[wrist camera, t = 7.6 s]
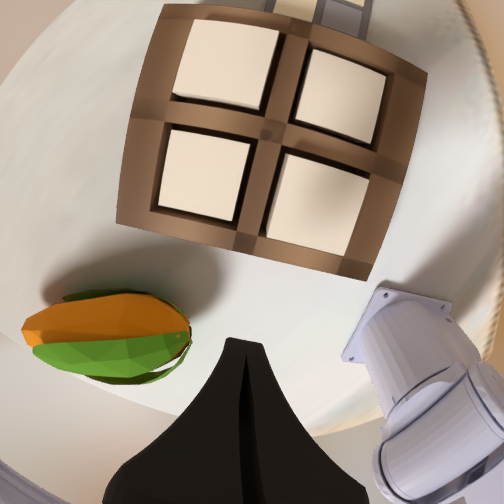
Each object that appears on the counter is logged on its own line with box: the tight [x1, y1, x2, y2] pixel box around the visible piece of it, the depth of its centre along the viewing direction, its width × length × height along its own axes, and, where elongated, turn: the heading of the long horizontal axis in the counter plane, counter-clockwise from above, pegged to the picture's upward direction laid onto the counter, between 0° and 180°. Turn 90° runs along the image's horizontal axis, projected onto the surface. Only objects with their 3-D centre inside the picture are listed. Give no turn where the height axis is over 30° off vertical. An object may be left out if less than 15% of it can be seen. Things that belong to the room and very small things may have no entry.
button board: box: [116, 4, 428, 282], centre depth 15 cm, size 16×14×4 cm
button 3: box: [158, 130, 251, 221], centre depth 16 cm, size 4×4×2 cm
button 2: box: [292, 49, 386, 144], centre depth 13 cm, size 4×4×2 cm
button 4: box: [172, 19, 279, 111], centre depth 12 cm, size 4×4×2 cm
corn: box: [21, 289, 192, 385], centre depth 19 cm, size 7×8×20 cm
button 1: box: [266, 153, 369, 256], centre depth 15 cm, size 4×4×2 cm
